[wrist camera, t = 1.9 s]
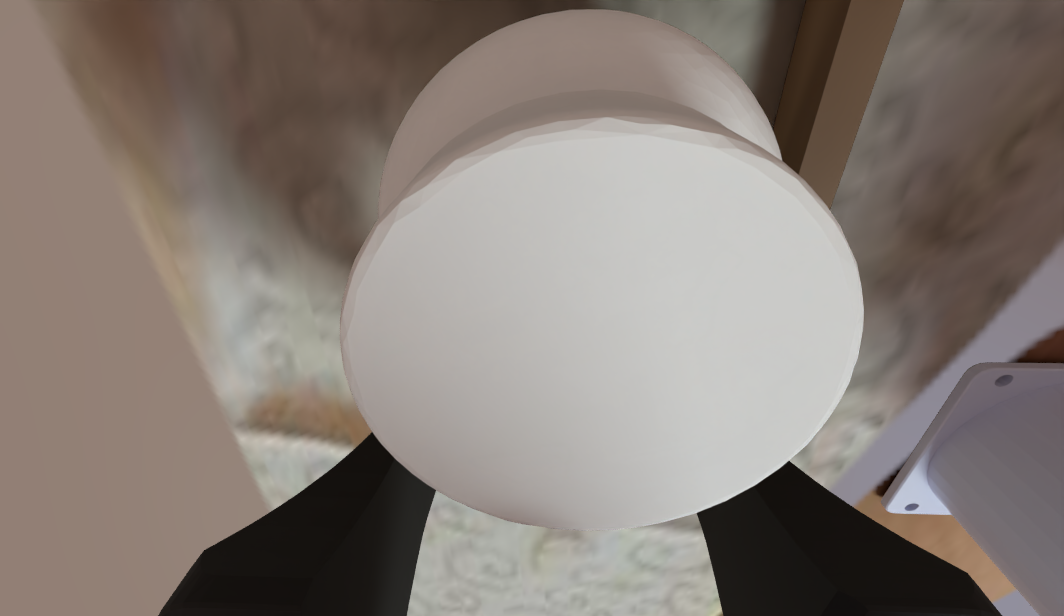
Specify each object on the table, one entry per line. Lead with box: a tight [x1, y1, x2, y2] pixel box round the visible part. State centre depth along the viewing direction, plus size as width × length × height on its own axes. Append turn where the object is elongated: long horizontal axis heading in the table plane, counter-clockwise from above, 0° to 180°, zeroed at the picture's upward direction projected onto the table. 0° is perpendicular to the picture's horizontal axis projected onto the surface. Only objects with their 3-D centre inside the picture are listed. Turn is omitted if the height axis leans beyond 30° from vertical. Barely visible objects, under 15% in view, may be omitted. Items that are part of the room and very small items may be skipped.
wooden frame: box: [773, 0, 904, 210], centre depth 11 cm, size 10×10×2 cm
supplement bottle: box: [340, 9, 864, 531], centre depth 7 cm, size 5×5×10 cm
